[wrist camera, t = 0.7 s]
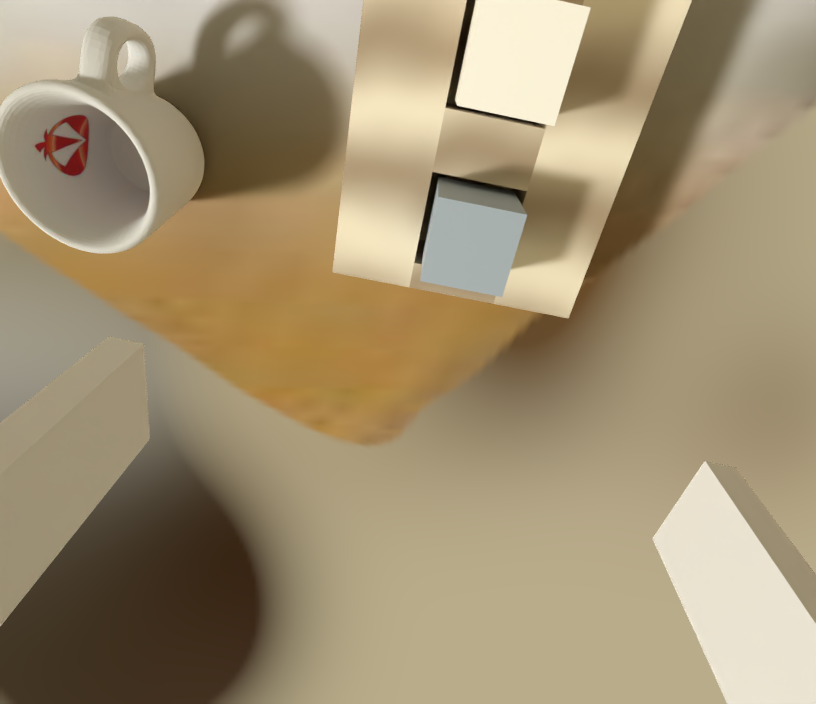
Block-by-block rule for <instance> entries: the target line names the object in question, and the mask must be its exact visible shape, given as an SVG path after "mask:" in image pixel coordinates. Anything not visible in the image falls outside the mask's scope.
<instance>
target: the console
mask: <svg viewBox="0 0 816 704" xmlns="http://www.w3.org/2000/svg"><path fill="white" fill-rule="evenodd" d="M559 1H564V2H568V3H573V4H577V5H582V6H586V7H591V9H590V12H589V15H588V19H587V22H586V25H585V28H584V32H583V35H582V38H581V41H580V45H579V48H578V51H577V54H576V58H575V61H574V64H573V68H572V71H571V74H570V77H569V81H568V84H567V87H566V90H565V94H564V97H563V100H562V103H561V107H560V110H559V113H558V116H557V120H556V123H555V126H551V125H546V124H542V123H537V122H532V121H527V120H523V119H518V118H513V117H508V116H504V115H499V114H494V113H490V112H485V111H480V110H475V109H471V108H466V107H461V106H457V104H456V101H455V95H456V90H457V85H458V80H459V75H460V71H461V66H462V61H463V56H464V51H465V47H466V42H467V37H468V32H469V27H470V22H471V18H472V13H473V8H474V3H475V0H363V9H362V18H361V26H360V35H359V44H358V53H357V62H356V70H355V79H354V88H353V97H352V105H351V114H350V123H349V132H348V140H347V149H346V158H345V167H344V175H343V184H342V193H341V202H340V210H339V219H338V228H337V237H336V246H335V254H334V263H333V272H334V273H339V274H344V275H349V276H354V277H359V278H364V279H369V280H375V281H380V282H385V283H390V284H395V285H400V286H405V287H410V288H416V289H421V290H426V291H431V292H436V293H441V294H446V295H451V296H457V297H462V298H467V299H472V300H477V301H482V302H487V303H492V304H498V305H503V306H508V307H513V308H518V309H523V310H528V311H533V312H539V313H544V314H549V315H554V316H559V317H565V318H568V317H569V315H570V312H571V310H572V307H573V305H574V302H575V299H576V297H577V294H578V292H579V289H580V287H581V284H582V282H583V279H584V276H585V274H586V271H587V269H588V266H589V264H590V261H591V258H592V256H593V253H594V251H595V248H596V246H597V243H598V240H599V238H600V235H601V233H602V230H603V228H604V225H605V222H606V220H607V217H608V215H609V212H610V210H611V207H612V204H613V202H614V199H615V197H616V194H617V192H618V189H619V186H620V184H621V181H622V179H623V176H624V174H625V171H626V168H627V166H628V163H629V161H630V158H631V156H632V153H633V150H634V148H635V145H636V143H637V140H638V138H639V135H640V132H641V130H642V127H643V125H644V122H645V120H646V117H647V114H648V112H649V109H650V107H651V104H652V102H653V99H654V96H655V94H656V91H657V89H658V86H659V84H660V81H661V79H662V76H663V73H664V71H665V68H666V66H667V63H668V61H669V58H670V55H671V53H672V50H673V48H674V45H675V43H676V40H677V37H678V35H679V32H680V30H681V27H682V25H683V22H684V19H685V17H686V14H687V12H688V9H689V7H690V4H691V1H692V0H559ZM438 177H444V178H448V179H453V180H458V181H463V182H468V183H473V184H478V185H483V186H487V187H492V188H497V189H502V190H507V191H512V192H514V193H515V194H516V196H517V198H518V200H519V201H520V203H521V205H522V206H523V208H524V210H525V212H526V213H527V218H526V221H525V224H524V227H523V231H522V234H521V237H520V241H519V244H518V247H517V250H516V254H515V257H514V260H513V263H512V267H511V270H510V273H509V276H508V280H507V283H506V286H505V289H504V293H503V296H502V297H499V296H494V295H489V294H483V293H478V292H473V291H468V290H463V289H458V288H453V287H448V286H443V285H438V284H432V283H427V282H422V281H420V278H421V268H422V258H423V249H424V244H425V239H426V234H427V230H428V225H429V220H430V215H431V210H432V205H433V201H434V196H435V191H436V186H437V181H438Z"/></svg>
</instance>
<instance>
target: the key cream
mask: <svg viewBox="0 0 816 704" xmlns="http://www.w3.org/2000/svg"><path fill="white" fill-rule="evenodd" d="M590 9H591V7H586V6H582V5H577V4H573V3H568V2H564V1H559V0H475V3H474V8H473V13H472V18H471V22H470V27H469V32H468V37H467V42H466V47H465V51H464V56H463V61H462V66H461V71H460V75H459V80H458V85H457V90H456V95H455V101H456V104H457V106H461V107H466V108H471V109H475V110H480V111H485V112H490V113H494V114H499V115H504V116H508V117H513V118H518V119H523V120H527V121H532V122H537V123H542V124H546V125H551V126H555V123H556V120H557V116H558V113H559V110H560V107H561V103H562V100H563V97H564V94H565V90H566V87H567V84H568V81H569V77H570V74H571V71H572V68H573V64H574V61H575V58H576V54H577V51H578V48H579V45H580V41H581V38H582V35H583V32H584V28H585V25H586V22H587V19H588V15H589V12H590Z"/></svg>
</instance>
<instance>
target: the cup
mask: <svg viewBox="0 0 816 704" xmlns="http://www.w3.org/2000/svg"><path fill="white" fill-rule="evenodd" d="M125 42H126V43H127V47H128V62H127V66H126V69H125V71H124V73H123V74H122V75H121V76H120V77H118V73H117V60H118V55H119V52H120V49H121V47H122V45H123V44H124V43H125ZM155 65H156V56H155V50H154V46H153V43H152V41H151V39H150V37H149V36H148V34H147V33H146V32H145V31H144V30H143V29H141V28H140V27H139V26H137V25H135V24H133V23H131V22H129V21H127V20H124V19H121V18H117V17H103V18H99V19H97V20H96V21H94V22H93V23H92V24H91V25H90V26H89V28H88V30H87V31H86V34H85V36H84V40H83V44H82V50H81V57H80V68H79V74H78V76H77V78H75V79H73V80H40V81H35V82H32V83H29V84H26V85H24V86H22V87H20V88H18V89H16V90H15V91H14V92H12V93H11V94H10V95H9V96H8V97H7V98H6V99H5V100H4V102H3V103H2V105H1V106H0V177H1V180H2V182H3V184H4V186H5V188H6V189H7V191H8V193H9V195H10V196H11V197H12V199H13V200H14V202H15V203H16V205H17V206H18V207H19V208H20V209H21V211H22V212H23V213H24V214H25V215H26V216H27V217H28V218H29V219H30V220H31V221H32V222H33V223H34V224H35V225H36V226H38V227H39V228H40V229H41V230H43V231H44V232H45V233H47V234H48V235H50V236H51V237H53V238H55V239H56V240H58V241H60V242H62V243H64V244H66V245H68V246H71V247H73V248H76V249H79V250H83V251H87V252H92V253H117V252H122V251H125V250H128V249H131V248H133V247H135V246H137V245H138V244H140V243H142V242H143V241H144V240H146V239H147V238H148V237H149V236H150V235H151V234H152V233H154V232H155V231H156V230H157V229H158V228H159V227H160V226H162V225H163V224H164V223H165V222H166V221H167V220H168V219H170V218H171V217H172V216H173V215H174V214H175V213H176V212H178V211H179V210H180V209H181V208H182V207H183V206H184V205H186V204H187V203H188V202H189V201H190V200H191V199H192V197H193V196H194V195H195V193H196V192H197V190H198V188H199V186H200V184H201V182H202V179H203V174H204V154H203V149H202V145H201V142H200V140H199V138H198V135H197V133H196V131H195V130H194V128H193V126H192V125H191V123H190V122H189V121H188V120H187V118H186V117H185V116H184V115H183V114H182V113H181V112H180V111H179V110H178V109H177V108H175V107H174V106H173V105H172V104H170V103H169V102H167V101H165V100H164V99H162V98H160V97H158V96H156V94H155V93H154V78H155Z"/></svg>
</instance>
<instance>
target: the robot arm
mask: <svg viewBox="0 0 816 704" xmlns="http://www.w3.org/2000/svg"><path fill="white" fill-rule="evenodd" d="M148 418H149V417H148V401H147V385H146V369H145V353H144V344H142V343H137V342H133V341H128V340H123V339H118V338H113V337H108V338H107V339H106V340H104V341H103V342H102V343H100V344H99V345H98V346H97V347H95V348H94V349H93V350H92V351H90V352H89V353H88V354H86V355H85V356H84V357H83V358H82V359H80V360H79V361H78V362H77V363H75V364H74V365H73V366H71V367H70V368H69V369H68V370H66V371H65V372H64V373H62V374H61V375H60V376H59V377H57V378H56V379H55V380H54V381H52V382H51V383H50V384H49V385H47V386H46V387H45V388H44V389H42V390H41V391H40V392H38V393H37V394H36V395H35V396H33V397H32V398H31V399H30V400H28V401H27V402H26V403H25V404H24V405H22V406H21V407H20V408H18V409H17V410H16V411H14V412H13V413H12V414H11V415H9V416H8V417H7V418H6V419H4V420H3V421H2V422H1V423H0V626H1V625H2V623H3V622H4V621H5V620H6V618H7V617H8V616H9V615H10V613H11V612H12V611H13V610H14V608H15V607H16V606H17V605H18V603H19V602H20V601H21V600H22V598H23V597H24V596H25V595H26V593H27V592H28V591H29V590H30V588H31V587H32V586H33V585H34V583H35V582H36V581H37V580H38V578H39V577H40V576H41V574H42V573H43V572H44V571H45V569H46V568H47V567H48V566H49V565H50V563H51V562H52V561H53V560H54V558H55V557H56V556H57V555H58V553H59V552H60V551H61V550H62V548H63V547H64V546H65V544H66V543H67V542H68V541H69V539H70V538H71V537H72V536H73V534H74V533H75V532H76V531H77V529H78V528H79V527H80V526H81V524H82V523H83V522H84V521H85V519H86V518H87V517H88V516H89V514H90V513H91V512H92V511H93V509H94V508H95V507H96V506H97V504H98V503H99V502H100V501H101V499H102V498H103V497H104V496H105V494H106V493H107V492H108V491H109V489H110V488H111V487H112V486H113V484H114V483H115V482H116V481H117V479H118V478H119V477H120V476H121V474H122V473H123V472H124V470H125V469H126V468H127V467H128V465H129V464H130V463H131V462H132V460H133V459H134V458H135V457H136V456H137V454H138V453H139V452H140V451H141V449H142V448H143V447H144V446H145V444H146V443H147V442H148V440H149V439H150V433H149V419H148ZM653 541H654V543H655V545H656V548H657V550H658V552H659V554H660V556H661V559H662V561H663V563H664V565H665V567H666V569H667V572H668V574H669V576H670V578H671V581H672V583H673V585H674V587H675V589H676V592H677V594H678V596H679V598H680V601H681V603H682V605H683V607H684V609H685V612H686V614H687V616H688V618H689V620H690V623H691V625H692V627H693V629H694V631H695V634H696V636H697V638H698V640H699V642H700V645H701V647H702V649H703V651H704V653H705V656H706V658H707V660H708V662H709V664H710V667H711V669H712V671H713V673H714V675H715V678H716V680H717V682H718V684H719V686H720V689H721V691H722V693H723V695H724V697H725V700H726V702H727V704H816V574H815V573H814V572H813V570H812V569H811V568H810V566H809V565H808V563H807V562H806V561H805V559H804V558H803V557H802V555H801V554H800V553H799V552H798V550H797V549H796V547H795V546H794V545H793V543H792V542H791V541H790V539H789V538H788V537H787V535H786V534H785V533H784V531H783V530H782V529H781V527H780V526H779V524H778V523H777V522H776V520H775V519H774V518H773V516H772V515H771V514H770V513H769V511H768V510H767V508H766V507H765V506H764V504H763V503H762V502H761V500H760V499H759V498H758V496H757V495H756V494H755V493H754V491H753V490H752V488H751V487H750V486H749V484H748V483H747V482H746V480H745V479H744V478H743V476H742V475H741V474H740V472H739V471H738V470H737V468H736V467H732V466H727V465H723V464H718V463H712V462H708V461H704V463H703V465H702V466H701V468H700V469H699V470H698V472H697V474H696V475H695V476H694V478H693V480H692V481H691V482H690V484H689V485H688V487H687V488H686V490H685V491H684V493H683V494H682V496H681V497H680V499H679V500H678V502H677V503H676V505H675V506H674V508H673V509H672V511H671V512H670V514H669V515H668V516H667V518H666V519H665V521H664V522H663V524H662V526H661V527H660V528H659V530H658V531H657V533H656V534H655V536H654V537H653Z"/></svg>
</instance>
